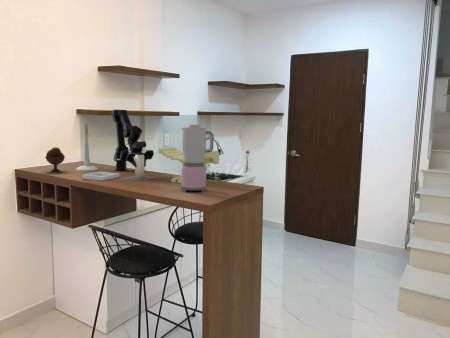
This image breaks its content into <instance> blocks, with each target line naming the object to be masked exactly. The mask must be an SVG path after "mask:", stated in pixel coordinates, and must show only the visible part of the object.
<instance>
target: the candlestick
mask: <svg viewBox="0 0 450 338" xmlns="http://www.w3.org/2000/svg"><path fill="white" fill-rule="evenodd" d="M83 125H84V133H83V137H84V154H83V155H84V157H83V165H81V166H78V167H77V168H76V171H77V172H78V171H79V172H95V171H98V167H96V166H94V165H91V162H90V148H89V146H90V145H89V135H90V133H89V125H88V123H84V124H83ZM94 170H95V171H94Z"/></svg>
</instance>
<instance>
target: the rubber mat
mask: <svg viewBox="0 0 450 338" xmlns="http://www.w3.org/2000/svg"><path fill="white" fill-rule="evenodd" d="M155 178H157V176H149V175H144V178H135V175H130V176H127V177H123V178H122V179H123V180H131V181H133V180H134V181H147V180H152V179H155Z"/></svg>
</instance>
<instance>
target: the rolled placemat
mask: <svg viewBox="0 0 450 338" xmlns="http://www.w3.org/2000/svg"><path fill="white" fill-rule="evenodd" d="M134 160H135V163H136V167H134V169H135V170H134V172H135V173H134V174H135V175H134V176H135V178H144V176H145V167H144V155H135V157H134Z"/></svg>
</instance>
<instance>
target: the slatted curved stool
mask: <svg viewBox="0 0 450 338" xmlns="http://www.w3.org/2000/svg"><path fill="white" fill-rule="evenodd" d="M157 153H158V154H159V155H161V154H162V156H164V157H166V159H167V158H168V159H170V160H171V161H179V162H181V164H182V166H183V165H184V156H183V151H181V150H179V149H178V148H176V147H172V146H171V147H170V146H169V147H160V148H158V152H157ZM208 164H213V165H219V164H220V153H219V151H218V150H213V151H211V152H207V153H205V157H204V166H205V168H206V167H207V165H208ZM170 182H171V183H178V184H179V183H180V184H181V175H179V176H177V177H176V176H175V177H172V178H171V180H170Z"/></svg>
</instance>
